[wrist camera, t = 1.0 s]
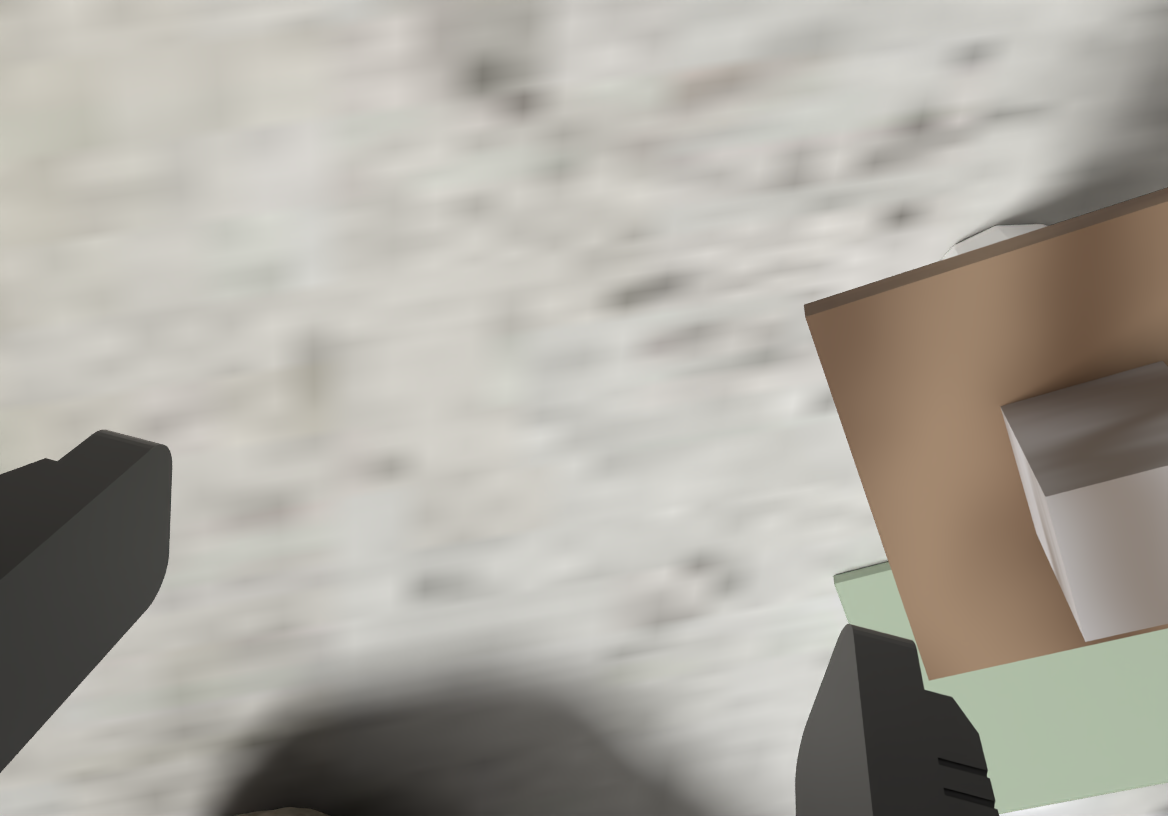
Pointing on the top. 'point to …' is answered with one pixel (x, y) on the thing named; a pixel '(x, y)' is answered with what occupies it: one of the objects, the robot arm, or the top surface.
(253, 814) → the gourd
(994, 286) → the lid
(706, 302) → the top surface
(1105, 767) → the mat
